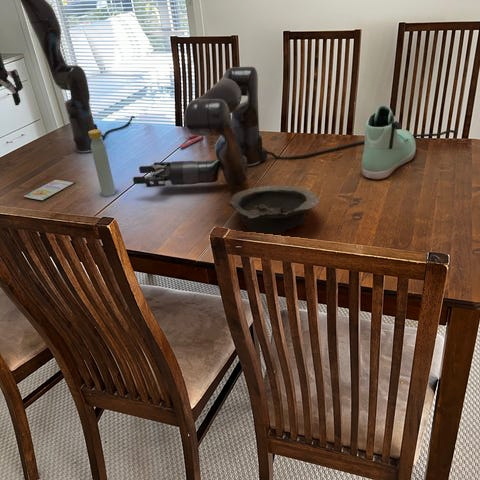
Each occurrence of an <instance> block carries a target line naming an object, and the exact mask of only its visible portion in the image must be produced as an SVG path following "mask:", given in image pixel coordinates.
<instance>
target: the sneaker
mask: <svg viewBox="0 0 480 480" xmlns="http://www.w3.org/2000/svg"><path fill="white" fill-rule="evenodd" d="M364 129H365V130H364V141H365V143H364V148H363V153H362V158H361V175H362V176H363V177H365V178H367V179H371V180H382V179H385V178H387V177H389V176H390V175H391V174H392V173H394V171H395V170H396V169H398V168H399V167H400V166H402V165H404V164H407V163H409V162H410V161H412V160H413V159H414V158H415V155H416V151H417V147H416V145H417V144H416V139H415V137H413V135H414V134H412V132H411V131H409V130H407V129H402V125H401V123H400V122H398V120H396V116H395V115H393V110H392V109H391V108H390V107H389V106H387V105H379V106H378V107H377V108H376V111H375V112H373V114H371V115H370V116H369V117H368V118H367V121H366V123H365V128H364Z"/></svg>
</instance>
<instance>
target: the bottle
mask: <svg viewBox="0 0 480 480" xmlns="http://www.w3.org/2000/svg"><path fill="white" fill-rule="evenodd" d="M91 150H92V152H91V155H92V158H93V159H92V160H93V163H94V167H95V171H96V175H97V179H98V183H99V188H100V191H101V195H102V196H103V197H111V196H113V195H115V194H116V188H115V187H116V186H115V182H114V179H113V174H112V170H111V165H110V161H109V157H108V152H107V147H106V144H105V143H104V141H103V140H102V139H101V137H100V138H97V139H92V142H91Z"/></svg>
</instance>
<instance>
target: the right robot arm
mask: <svg viewBox="0 0 480 480" xmlns="http://www.w3.org/2000/svg"><path fill="white" fill-rule="evenodd" d="M242 97H246V100H244V101H242ZM183 119H184V126H185V128H186V130H187V131H188V132H189V133H190V135H191V134H193V135H196V136H203V137H210V136H219V137H218V139H217V140H216V141H215V145H214V154H215V157H216V158H215V159H213V160H179V161H178V160H177V161H156V162H155V161H154V162H153V164H150V165H141V166H139V167H138V171H139V173H140V174H149V175H146V176H145V175H144V176H133V178H132V181H133V185H145V186H146V188H157V187H165V186H166V182H170V184H171V185H173V186H183V185H196V184H209V183H210V184H212V183H217V182H218V180H219V177H220V173H221V172H222V174H223V177H224V181H225V182H226V184H227V185H229V186H230V187H233V188H241V187H244V186H245V185H246V184H247V182H248V179H249V173H248V171H249V168H250V167H255V166H258V165H259V164H260V163H264V160H267V159H268V155H270V156H272V157H273V158H275V159H277V160H294V159H295V160H296V159H302V158H303V159H304V158H308V157H312V156H316V155H321V154H325V153H329V152H333V151H337V150H341V149H345V148H350V147H353V146H359V145H364V144H365V140H361V141H356V142H352V143H349V144H348V143H347V144H344V145H340V146H336V147H331V148H327V149H324V150H320V151H316V152H311V153H307V154H306V153H305V154H301V155H292V156H280V155H279V156H278V155H277V154H275V153H274V152H272V151H268V149H266V148H264V147H263V138H262V136H261V134H260V121H259V120H260V119H259V75H258V70H257V69H256V67H254V66H233V67H229V68H227V69H226V71H225V72H224V73H223V76H222V77H221V78H220V80H218V81H217V82H216V83H215V84H214V85H212V86H211V88H209V89H208V90H207V91H206V92H204V93H203V95H201V96H199V97H197V98H195V99H192V100H190V102H188V104H187V106H186V108H185V112H184V117H183ZM448 133H449V134H450V133H452V134H454V135H458V132H457V131H456V130H453V129H448V130H445V131H442V132H439V133H421V134H420V133H418V134H417V133H416V134H412V135H413V137H414V138H420V137H421V138H422V137H425V138H427V137H439V136H443V135H445V134H448ZM248 167H249V168H248Z"/></svg>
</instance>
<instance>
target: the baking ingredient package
mask: <svg viewBox="0 0 480 480" xmlns="http://www.w3.org/2000/svg"><path fill="white" fill-rule="evenodd" d="M73 184H74V182H73V181H67V180H61V179H54V180H51V181H50V182H47V183H46V184H44V185H42V186H40V187H38V188H36V189H34V190H32V191H31V192H28V193H27V194H25V195H23V198H28V199H34V200H39V201H44V200H45V199H47V198H49V197H51V196H52V195H55V194H57V193H58V192H60V191H61V190H64V189H65V188H67V187H69V186H71V185H73Z"/></svg>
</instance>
